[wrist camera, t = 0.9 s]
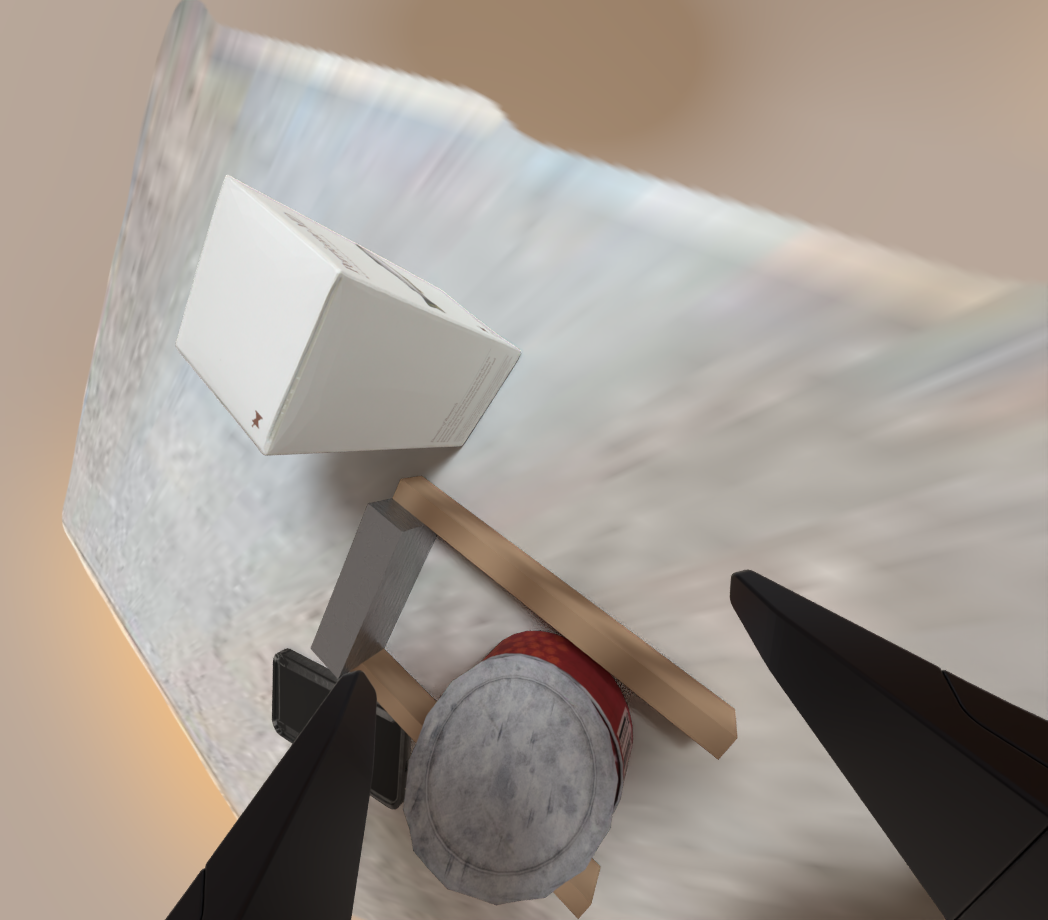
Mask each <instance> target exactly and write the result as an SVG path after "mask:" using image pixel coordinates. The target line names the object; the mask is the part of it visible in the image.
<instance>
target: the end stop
mask: <svg viewBox="0 0 1048 920" xmlns="http://www.w3.org/2000/svg"><path fill="white" fill-rule="evenodd" d="M436 536H437V534H436V533H435V532H434V531H432V530H431V529H430V528H429V527H427V526H426V525H425V524H424V523H422V522H421V521H420V520H419V519H417V518H416V517H415V516H414V515H412V514H411V513H410V512H409V511H407V510H406V509H405V508H404V507H403V506H401V505H400V504H399V503H398V502H396V501H395V500H394V499H393V498H392V499H387V500H383V501H378V502H373V503H369V504H368V505H367V508H366V510H365V513H364V515H363V518H362V520H361V523H360V525H359V528H358V530H357V533H356V535H355V538H354V540H353V543H352V545H351V548H350V550H349V553H348V556H347V558H346V561H345V563H344V566H343V568H342V571H341V573H340V576H339V578H338V581H337V583H336V586H335V588H334V591H333V593H332V596H331V598H330V601H329V603H328V606H327V608H326V611H325V613H324V616H323V619H322V621H321V624H320V626H319V629H318V631H317V634H316V636H315V639H314V641H313V644H312V646H311V650H312V651H313V652H314V653H315V654H316V655H317V656H318V657H319V658H320V660H321V661H322V662H323V663H324V664H325V665H326V666H327V667H328V668H329V670H330V671H331V672H332V673H333V674H334V675H335V676H336V677H337V678H338V679H339V678H341V677H342V676H343V675H344V674H346V673H348V672H350V671H351V670H353V669H354V668H356V667H357V666H359V665H360V664H362V663H363V662H365V661H366V660H368V659H369V658H371V657H372V656H374V655H375V654H377V653H378V652H380V651H381V650H383V649H384V647H385V645H386V643H387V641H388V639H389V636H390V634H391V632H392V630H393V628H394V626H395V624H396V621H397V619H398V617H399V615H400V613H401V611H402V609H403V606H404V604H405V602H406V600H407V598H408V596H409V594H410V592H411V589H412V587H413V585H414V583H415V581H416V579H417V577H418V574H419V572H420V570H421V568H422V566H423V564H424V562H425V559H426V557H427V555H428V553H429V551H430V549H431V547H432V544H433V542H434V540H435V538H436Z"/></svg>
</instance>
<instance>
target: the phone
mask: <svg viewBox="0 0 1048 920" xmlns="http://www.w3.org/2000/svg"><path fill="white" fill-rule="evenodd" d="M339 679H340V678H339ZM339 679H338V678H337V677H336V676H335V675H334V674H333V673H332V672H331V671H330V670H329V669H328V668H326V667H324V666H322V665H320V664H318V663H316V662H314V661H312V660H310V659H308V658H306V657H305V656H303V655H301V654H299V653H297V652H295V651H293V650H291V649H288V648H287V649H284V650H282V651H280V652H278V653H277V654H275V656H274V658H273V692H272V722H273V726H274V728H275V730H276V732H277V733H278V734H279V735H280V736H282V737H283V738H285V739H286V740H288V741H289V742H291V743H292V744H293V743H294V741H295V740H296V739H297V737H298V736H299V734H300V733H301V732H302V730H303V729H304V727H305V726H306V725H307V723H308V722H309V721H310V719H311V718H312V716H313V715H314V714H315V712H316V711H317V709H318V708H319V707H320V705H321V704H322V703H323V701H324V700H325V698H326V697H327V696H328V694H329V693H330V691H331V690H332V689H333V687H334V686H335V685H336V683H337V682H338V680H339ZM410 749H411V737H410V736H409V735H408V734H407V733H406V732H405V731H404V730H403V729H402V728H401V727H400V725H399V724H398V723H397V722H396V721H395V720H394V719H393V718H392V717H391V716H390V715H389V714H388V712H387V711H386V710H385V709H384V708H383V707H382V706H381V705H380V704H379V703H378V702H377V709H376V727H375V745H374V763H373V775H372V783H371V790H370V796H372V797H373V798H375V799H376V800H378V801H379V802H381V803H382V804H384V805H385V806H387V807H388V808H390V809H397V808H398V807H399V806H400V805H401V804H402V802H403V801H404V799H405V791H406V789H405V788H406V782H407V773H408V764H409V759H410ZM406 761H407V770H406V771H405V768H406Z"/></svg>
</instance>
